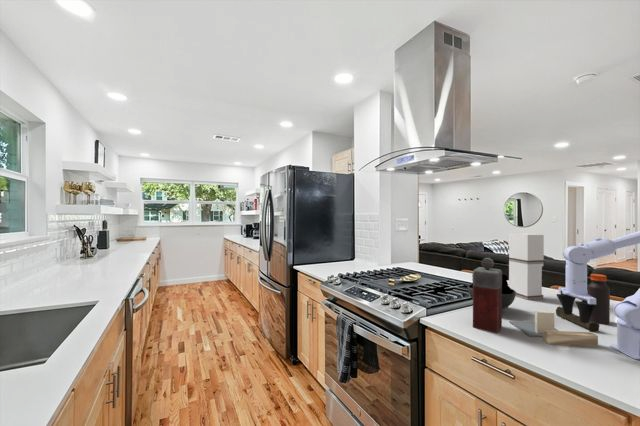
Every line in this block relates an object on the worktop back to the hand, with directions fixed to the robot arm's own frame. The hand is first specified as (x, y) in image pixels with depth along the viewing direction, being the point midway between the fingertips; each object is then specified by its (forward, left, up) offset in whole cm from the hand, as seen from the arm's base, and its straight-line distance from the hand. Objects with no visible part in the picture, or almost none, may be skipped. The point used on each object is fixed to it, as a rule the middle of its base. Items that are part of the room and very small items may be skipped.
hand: (575, 318), depth 101 cm
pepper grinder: (+12, +24, -9) cm, 29 cm away
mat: (+11, +6, -9) cm, 15 cm away
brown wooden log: (+21, -14, -10) cm, 27 cm away
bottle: (+24, -26, -9) cm, 37 cm away
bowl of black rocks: (+34, +13, -9) cm, 38 cm away
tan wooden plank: (0, +2, -9) cm, 10 cm away
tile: (+7, +6, -8) cm, 12 cm away
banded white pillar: (+60, -17, -9) cm, 64 cm away
